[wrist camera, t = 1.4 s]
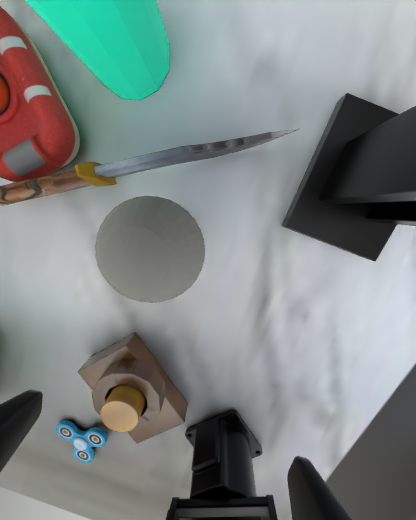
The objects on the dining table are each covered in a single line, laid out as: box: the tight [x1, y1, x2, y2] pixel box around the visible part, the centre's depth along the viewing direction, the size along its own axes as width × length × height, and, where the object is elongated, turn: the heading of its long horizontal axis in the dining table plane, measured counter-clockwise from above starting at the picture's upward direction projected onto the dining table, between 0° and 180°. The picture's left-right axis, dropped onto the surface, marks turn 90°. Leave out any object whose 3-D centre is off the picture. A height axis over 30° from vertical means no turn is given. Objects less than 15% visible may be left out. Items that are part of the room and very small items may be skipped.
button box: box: [78, 333, 188, 443], centre depth 21 cm, size 10×7×4 cm
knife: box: [0, 129, 298, 206], centre depth 16 cm, size 25×1×5 cm, turn 102°
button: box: [100, 384, 145, 432], centre depth 18 cm, size 3×3×2 cm
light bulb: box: [95, 196, 205, 303], centre depth 14 cm, size 6×6×10 cm
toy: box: [56, 420, 108, 463], centre depth 25 cm, size 6×6×1 cm
